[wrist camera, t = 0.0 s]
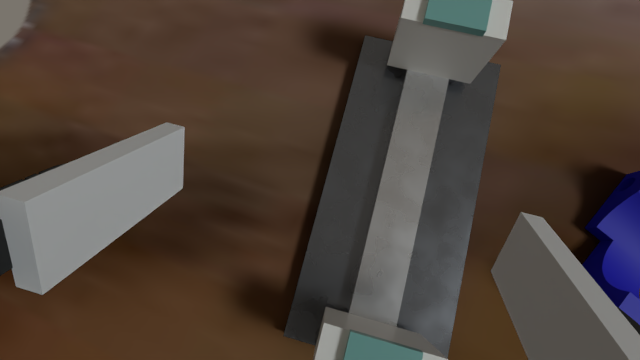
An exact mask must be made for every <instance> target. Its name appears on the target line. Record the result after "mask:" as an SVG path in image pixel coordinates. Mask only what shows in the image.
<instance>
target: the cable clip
mask: <svg viewBox="0 0 640 360" xmlns="http://www.w3.org/2000/svg"><path fill="white" fill-rule="evenodd" d="M585 229H586V230H588V231H589V232H590V233H591V234H593V235H594V236H595V237H596V238H598V239H599V240H600V242H599V244H598V245H597V246H596V248H595V249H594V250H593V251H592V253H591V254H590V255H589V257H588V258H587V259H586V261H585V262H584V263H583V264H582V266H583V267H584V268H585V269H586V271H587V272H588V273H589V274H590V276H591V277H592V278H593V279H594V280H595V282H596V283H597V284H598V285H599V286H600V288H601V289H602V290H603V291H604V292H605V294H606V295H607V296H608V297H609V298H610V300H611V301H612V302H613V303H614V305H615V306H616V307H619V308H620V309H621V310H622V311H624V312H625V313H626V314H627V315H628V316H630V317H631V318H632V319H633V320H635V321H636V322H637V323H638V324H639V325H640V300H639V288H640V171H638V172H634V173H630V174H627V175H626V176H625V177H624V179H623V180H622V181H621V182H620V184H619V185H618V186H617V187H616V189H615V190H614V191H613V193H612V194H611V195H610V196H609V198H608V199H607V200H606V201H605V203H604V204H603V205H602V206H601V208H600V209H599V210H598V212H597V213H596V214H595V215H594V217H593V218H592V219H591V220H590V222H589V223H588V224H587V226H586V227H585Z"/></svg>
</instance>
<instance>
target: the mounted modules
mask: <svg viewBox="0 0 640 360" xmlns="http://www.w3.org/2000/svg"><path fill="white" fill-rule="evenodd" d="M512 5H513V1H510V0H404V4H403V7H402V11H401V14H400V18H399V21H398V25H397V28H396V32H395V35H394V39H393V43H392V47H391V51H390V55H389V59H388V63H387V65H388V66H393V67H397V68H402V69H406V70H411V71H415V72H419V73H424V74H428V75H433V76H437V77H442V78H446V79H451V80H455V81H460V82H464V83H469V84H470V83H471V82H472V81H473V80H474V79H475V77H476V76H477V75H478V74H479V72H480V71H481V70H482V69H483V68H484V66H485V65H486V64H487V63H488V62H489V60H490V59H491V58H492V57H493V55H494V54H495V53H496V52H497V51H498V49H499V48H500V47H501V46H502V44H503V43H504V42H505V41H506V38H507V32H508V27H509V21H510V16H511V10H512ZM313 360H448V359H447V358H446V357H445V356H444V355H443V354H442V353H441V352H440V351H439V350H437V349H436V348H435V347H434V346H433V345H432V344H431V343H430V342H429V341H428V340H427V339H425V338H424V337H423V336H422V335H421V334H419V333H415V332H412V331H409V330H405V329H402V328H398V327H395V326H391V325H388V324H384V323H381V322H378V321H374V320H371V319H367V318H364V317H360V316H357V315H353V314H350V313H347V312H343V311H340V310H336V309H333V308H329V307H325V311H324V315H323V319H322V323H321V327H320V331H319V335H318V339H317V343H316V347H315V352H314V357H313Z"/></svg>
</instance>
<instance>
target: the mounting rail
mask: <svg viewBox="0 0 640 360" xmlns="http://www.w3.org/2000/svg"><path fill="white" fill-rule="evenodd" d="M392 43H393V41H389V40H384V39H380V38H375V37H370V36H366V35H365V38H364V42H363V45H362V49H361V53H360V56H359V60H358V64H357V67H356V71H355V75H354V78H353V82H352V86H351V89H350V93H349V97H348V100H347V104H346V108H345V112H344V115H343V119H342V123H341V126H340V130H339V134H338V137H337V141H336V145H335V148H334V152H333V156H332V159H331V163H330V167H329V170H328V174H327V178H326V181H325V185H324V189H323V192H322V196H321V200H320V203H319V207H318V211H317V214H316V218H315V222H314V225H313V229H312V233H311V236H310V240H309V244H308V247H307V251H306V255H305V258H304V262H303V266H302V269H301V273H300V277H299V280H298V284H297V288H296V291H295V295H294V299H293V302H292V306H291V310H290V313H289V317H288V321H287V325H286V328H285V332H284V336H286V337H289V338H293V339H296V340H299V341H302V342H306V343H309V344H312V345H316V343H317V339H318V335H319V331H320V327H321V323H322V319H323V315H324V311H325V307H329V308H333V309H336V310H340V311H343V312H347V313H350V314H353V315H357V316H360V317H364V318H367V319H371V320H374V321H378V322H381V323H384V324H388V325H391V326H395V327H398V328H402V329H405V330H409V331H412V332H415V333H419V334H421V335H422V336H423V337H424V338H425V339H427V340H428V341H429V342H430V343H431V344H432V345H433V346H434V347H435V348H436V349H437V350H439V351H440V352H441V353H442V354H443V355H444V356H445V357H446V358H448V352H449V347H450V341H451V336H452V330H453V325H454V319H455V314H456V308H457V303H458V297H459V292H460V286H461V281H462V275H463V270H464V264H465V259H466V253H467V248H468V242H469V237H470V231H471V226H472V220H473V215H474V209H475V204H476V198H477V193H478V187H479V182H480V176H481V171H482V165H483V160H484V155H485V149H486V144H487V138H488V133H489V127H490V122H491V116H492V111H493V105H494V100H495V94H496V89H497V83H498V78H499V72H500V67H501V65H499V64H494V63H490V62H488V63H487V64H486V65H485V66H484V68H483V69H482V70H481V71H480V72H479V74H478V75H477V76H476V77H475V79H474V80H473V81H472V82H471V83H470V84H469V83H464V82H460V81H455V80H451V79H446V78H442V77H437V76H433V75H428V74H424V73H419V72H415V71H411V70H406V69H402V68H397V67H393V66H388V65H387V63H388V59H389V55H390V51H391V47H392Z"/></svg>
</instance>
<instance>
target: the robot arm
mask: <svg viewBox="0 0 640 360" xmlns="http://www.w3.org/2000/svg"><path fill="white" fill-rule="evenodd" d="M184 129H185V127H182V126H178V125H174V124H170V123H164V124H162V125H159V126H157V127H154V128H152V129H150V130H147V131H145V132H142V133H140V134H137V135H135V136H133V137H130V138H128V139H125V140H123V141H120V142H118V143H115V144H113V145H111V146H108V147H106V148H103V149H101V150H98V151H96V152H94V153H91V154H89V155H86V156H84V157H81V158H79V159H76V160H74V161H72V162H69V163H67V164H62V165H57V166H54V167H51V168H49V169H46V170H44V171H41V172H39V174H34V175H31V176H29V177H26V178H25V180H22V179H21V180H19V181H16V182H14V183H11V184H9V185H6V186H4V187H1V188H0V275H2V274H4V273H5V272H7V271H8V270H10V269H12V272H13V276H14V280H15V285H16V287H19V288H22V289H25V290H28V291H32V292H35V293H38V294H41V295H43V294H44V293H46V292H47V291H48V290H50V289H51V288H52V287H54V286H55V285H56V284H58V283H59V282H60V281H62V280H63V279H64V278H66V277H67V276H68V275H69V274H71V273H72V272H73V271H75V270H76V269H77V268H79V267H80V266H81V265H83V264H84V263H85V262H87V261H88V260H89V259H90V258H92V257H93V256H94V255H96V254H97V253H98V252H100V251H101V250H102V249H104V248H105V247H106V246H108V245H109V244H110V243H111V242H113V241H114V240H115V239H117V238H118V237H119V236H121V235H122V234H123V233H125V232H126V231H127V230H129V229H130V228H131V227H133V226H134V225H135V224H136V223H138V222H139V221H140V220H142V219H143V218H144V217H146V216H147V215H148V214H150V213H151V212H152V211H154V210H155V209H156V208H157V207H159V206H160V205H161V204H163V203H164V202H165V201H167V200H168V199H169V198H171V197H172V196H173V195H175V194H176V193H177V192H178V191H180V190H181V189H182V188H183V166H184ZM491 273H492V275H493V277H494V280H495V282H496V285H497V287H498V289H499V292H500V294H501V296H502V299H503V301H504V303H505V306H506V308H507V310H508V313H509V315H510V317H511V320H512V322H513V324H514V327H515V329H516V331H517V334H518V336H519V339H520V341H521V343H522V346H523V348H524V350H525V353H526V355H527V357H528V360H640V325H639V324H638V323H637V322H636V321H635V320H633V319H632V318H631V317H630V316H628V315H627V314H626V313H625V312H624V311H622V310H621V309H620V308H619V307H616V306H615V305H614V303H613V302H612V301H611V300H610V298H609V297H608V296H607V295H606V294H605V292H604V291H603V290H602V289H601V288H600V286H599V285H598V284H597V283H596V282H595V280H594V279H593V278H592V277H591V276H590V274H589V273H588V272H587V271H586V269H585V268H584V267H583V266H582V265H581V263H580V262H579V261H578V260H577V259H576V257H575V256H574V255H573V254H572V253H571V251H570V250H569V249H568V248H567V246H566V245H565V244H564V243H563V242H562V240H561V239H560V238H559V237H558V236H557V234H556V233H555V232H554V231H553V230H552V228H551V227H550V226H549V225H548V223H547V222H546V221H545V220H544V219H543V218H542V217H539V216H535V215H531V214H527V213H523V212H521V213H520V215H519V217H518V219H517V221H516V223H515V225H514V227H513V229H512V231H511V233H510V235H509V237H508V238H507V240H506V242H505V244H504V246H503V248H502V250H501V252H500V254H499V256H498V258H497V260H496V262H495V264H494V266H493V268H492V270H491Z"/></svg>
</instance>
